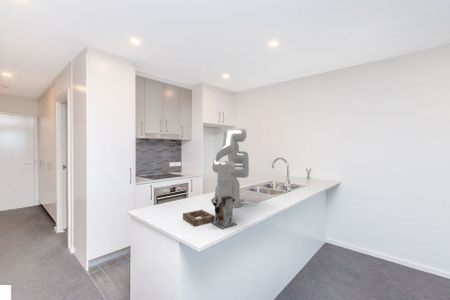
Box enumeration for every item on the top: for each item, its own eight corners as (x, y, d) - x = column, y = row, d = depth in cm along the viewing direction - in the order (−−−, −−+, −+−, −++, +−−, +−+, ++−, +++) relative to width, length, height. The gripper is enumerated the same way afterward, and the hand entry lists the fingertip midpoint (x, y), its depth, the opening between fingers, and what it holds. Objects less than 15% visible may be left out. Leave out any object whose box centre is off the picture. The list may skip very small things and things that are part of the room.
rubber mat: (225, 219, 132) (225, 218, 132) (236, 225, 123) (236, 224, 123) (211, 223, 126) (211, 222, 126) (221, 229, 117) (221, 228, 117)
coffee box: (214, 222, 126) (214, 195, 125) (222, 219, 130) (222, 194, 130) (225, 226, 119) (225, 198, 119) (233, 223, 123) (233, 196, 123)
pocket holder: (202, 214, 142) (202, 209, 142) (214, 221, 129) (214, 215, 129) (182, 218, 134) (182, 213, 134) (194, 226, 121) (194, 220, 121)
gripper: (231, 180, 132) (231, 207, 132) (208, 183, 122) (208, 212, 122) (239, 182, 126) (239, 210, 126) (215, 185, 116) (215, 216, 116)
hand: (223, 211), depth 124 cm, fingers open, 9 cm apart
